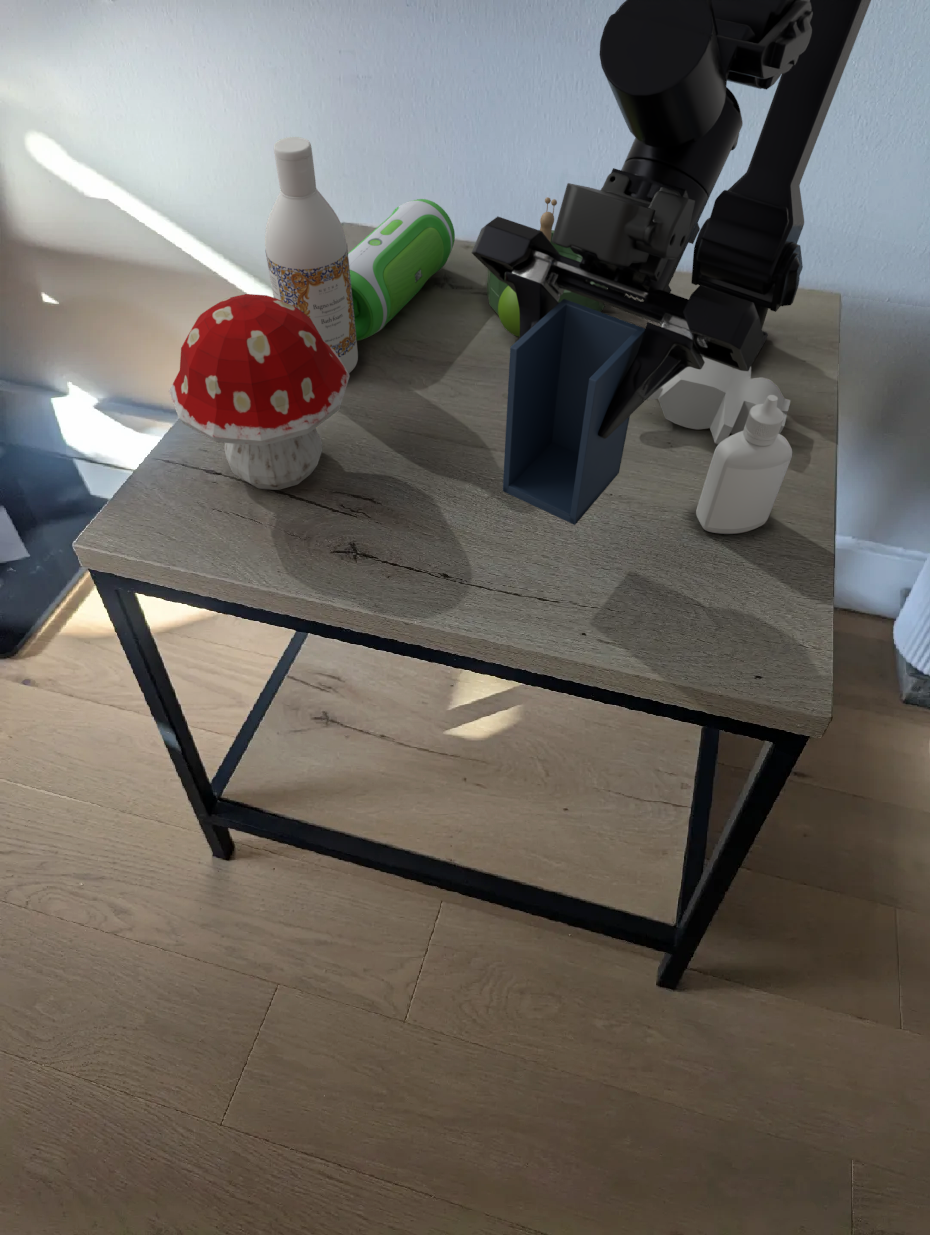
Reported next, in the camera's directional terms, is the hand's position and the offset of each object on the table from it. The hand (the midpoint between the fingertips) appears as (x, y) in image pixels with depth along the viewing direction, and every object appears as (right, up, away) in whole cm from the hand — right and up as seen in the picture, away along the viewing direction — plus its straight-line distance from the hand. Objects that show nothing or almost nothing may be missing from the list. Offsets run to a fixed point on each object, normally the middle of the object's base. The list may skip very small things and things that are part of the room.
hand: (558, 419), depth 57 cm
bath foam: (-20, +11, +27) cm, 35 cm away
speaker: (-14, +20, +33) cm, 41 cm away
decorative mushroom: (-22, 0, +17) cm, 28 cm away
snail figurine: (0, +17, +28) cm, 32 cm away
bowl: (+2, +20, +34) cm, 39 cm away
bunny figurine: (+15, +5, +22) cm, 27 cm away
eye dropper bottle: (+15, -5, +14) cm, 21 cm away
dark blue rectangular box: (+1, -3, +6) cm, 7 cm away
